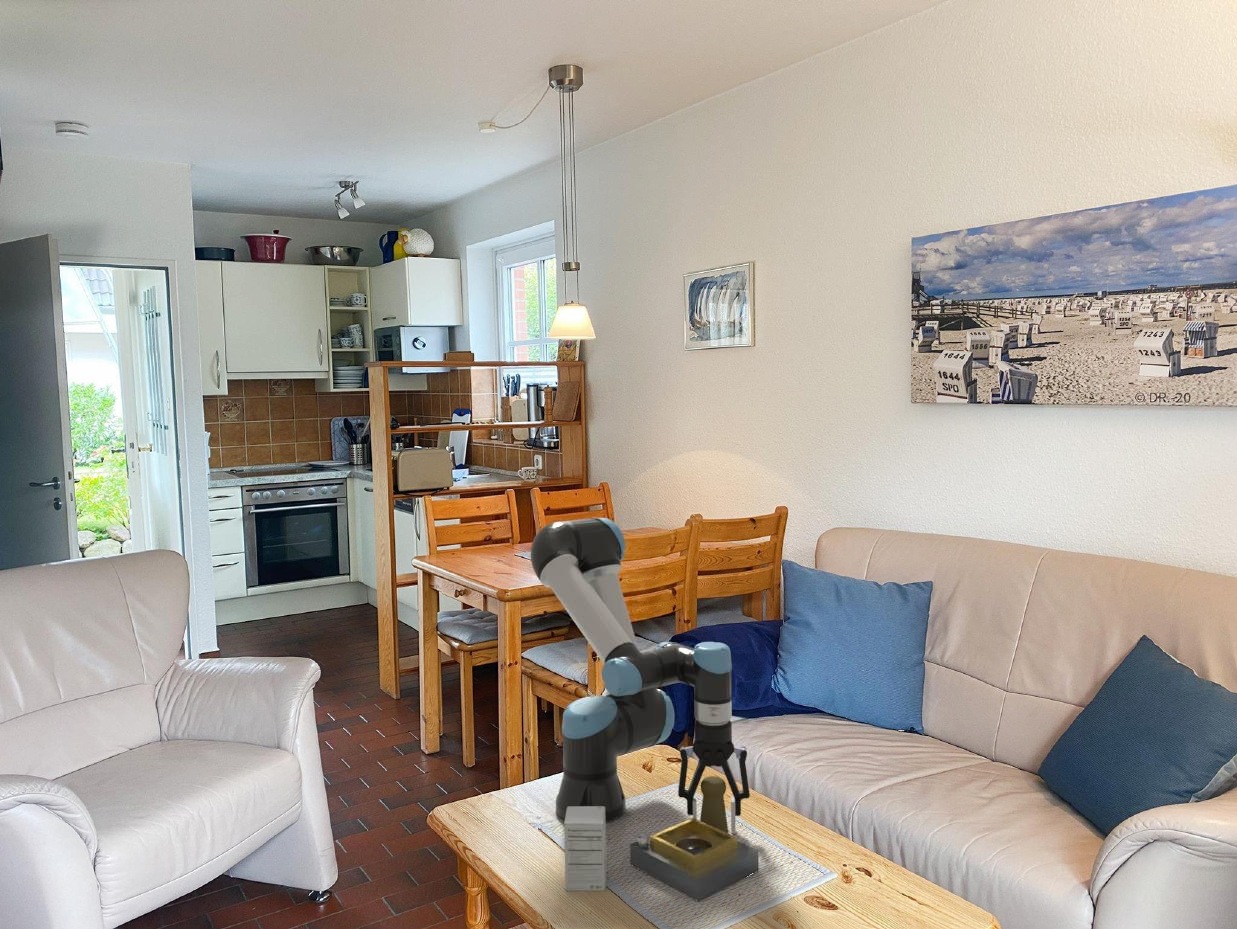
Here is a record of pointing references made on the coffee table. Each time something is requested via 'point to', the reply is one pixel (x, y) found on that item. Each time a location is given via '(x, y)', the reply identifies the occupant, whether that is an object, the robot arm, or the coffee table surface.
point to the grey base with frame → (694, 858)
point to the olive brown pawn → (714, 803)
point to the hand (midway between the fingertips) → (713, 830)
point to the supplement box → (585, 848)
